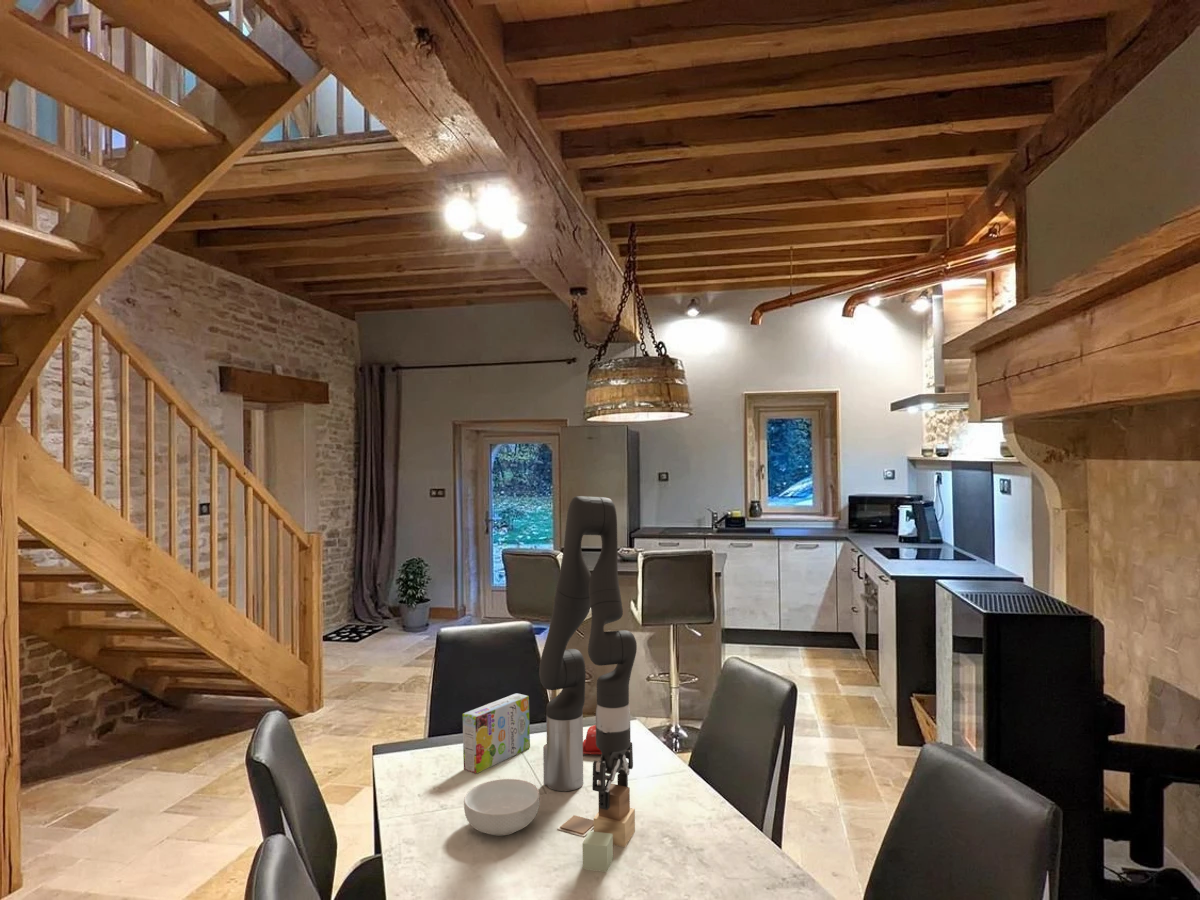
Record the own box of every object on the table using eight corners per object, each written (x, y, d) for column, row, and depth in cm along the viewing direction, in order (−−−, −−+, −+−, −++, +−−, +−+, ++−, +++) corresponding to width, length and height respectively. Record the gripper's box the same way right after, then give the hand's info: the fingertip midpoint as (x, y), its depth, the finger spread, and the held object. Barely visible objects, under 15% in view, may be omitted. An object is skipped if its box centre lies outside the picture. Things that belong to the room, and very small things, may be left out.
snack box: (516, 744, 202) (516, 692, 203) (530, 748, 199) (530, 695, 199) (462, 769, 185) (461, 712, 185) (476, 774, 181) (476, 716, 182)
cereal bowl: (456, 817, 158) (456, 786, 159) (526, 803, 165) (526, 773, 165) (473, 854, 143) (473, 819, 143) (550, 836, 149) (549, 803, 150)
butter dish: (584, 742, 204) (584, 712, 204) (623, 743, 202) (623, 713, 203) (578, 757, 192) (578, 726, 193) (620, 759, 191) (619, 727, 191)
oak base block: (593, 842, 147) (593, 818, 147) (604, 826, 154) (604, 803, 154) (625, 848, 145) (624, 823, 145) (634, 831, 151) (634, 808, 152)
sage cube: (582, 869, 137) (582, 843, 137) (589, 855, 142) (588, 830, 142) (607, 872, 136) (607, 846, 136) (613, 858, 141) (612, 833, 141)
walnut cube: (598, 815, 149) (598, 792, 149) (609, 806, 153) (609, 782, 153) (619, 821, 146) (619, 796, 146) (629, 811, 151) (629, 787, 151)
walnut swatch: (557, 829, 152) (557, 827, 152) (573, 816, 158) (573, 814, 158) (584, 836, 149) (584, 834, 149) (599, 823, 155) (599, 820, 155)
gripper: (613, 711, 158) (613, 783, 158) (581, 731, 146) (582, 810, 145) (642, 716, 155) (643, 790, 154) (612, 738, 142) (613, 818, 142)
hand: (613, 800), depth 150 cm, fingers open, 8 cm apart
